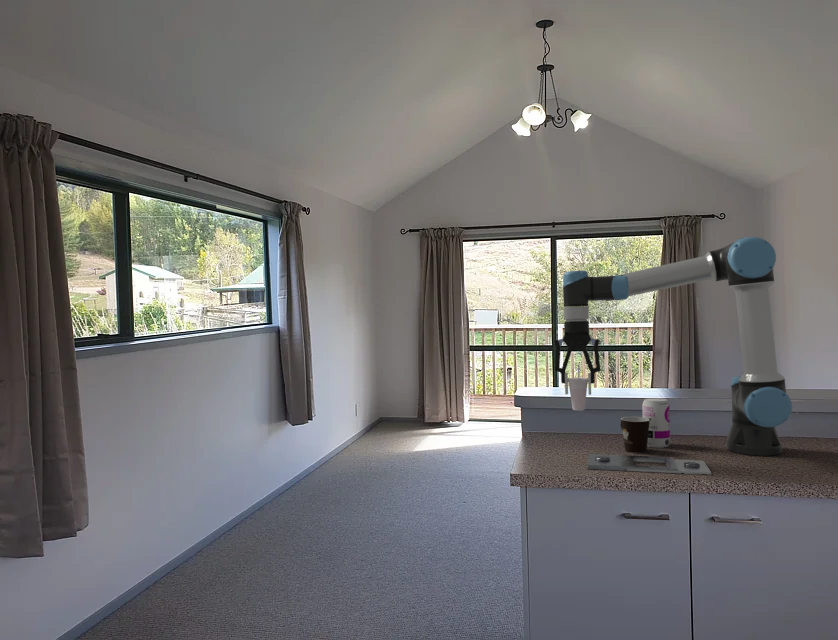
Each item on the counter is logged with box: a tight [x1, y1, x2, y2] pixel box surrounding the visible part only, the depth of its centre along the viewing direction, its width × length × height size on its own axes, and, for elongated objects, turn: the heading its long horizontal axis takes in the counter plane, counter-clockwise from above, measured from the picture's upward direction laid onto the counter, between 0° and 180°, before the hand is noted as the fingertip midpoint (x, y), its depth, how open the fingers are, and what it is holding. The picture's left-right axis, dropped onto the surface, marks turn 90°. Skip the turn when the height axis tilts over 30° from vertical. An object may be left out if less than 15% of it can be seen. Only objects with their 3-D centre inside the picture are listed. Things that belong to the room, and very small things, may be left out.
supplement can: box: [641, 397, 671, 449], centre depth 199 cm, size 8×8×15 cm
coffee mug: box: [620, 416, 650, 454], centre depth 194 cm, size 12×9×10 cm
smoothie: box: [568, 364, 588, 412], centre depth 191 cm, size 6×6×14 cm
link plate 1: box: [587, 453, 678, 472], centre depth 176 cm, size 24×13×2 cm, turn 73°
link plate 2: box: [625, 458, 713, 476], centre depth 173 cm, size 22×13×1 cm, turn 73°
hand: (578, 393), depth 191 cm, fingers closed on smoothie, 6 cm apart
